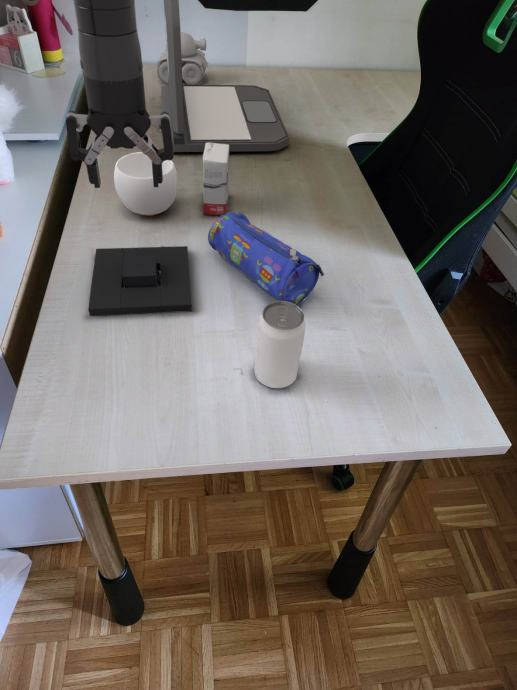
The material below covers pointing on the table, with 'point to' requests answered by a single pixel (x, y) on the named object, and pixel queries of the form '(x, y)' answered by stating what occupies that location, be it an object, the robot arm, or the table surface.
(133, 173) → the cup
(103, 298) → the socket pad
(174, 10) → the gray camera stand
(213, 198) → the ink box
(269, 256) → the pencil case
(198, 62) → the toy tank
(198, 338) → the table surface
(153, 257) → the plug pad
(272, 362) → the can
